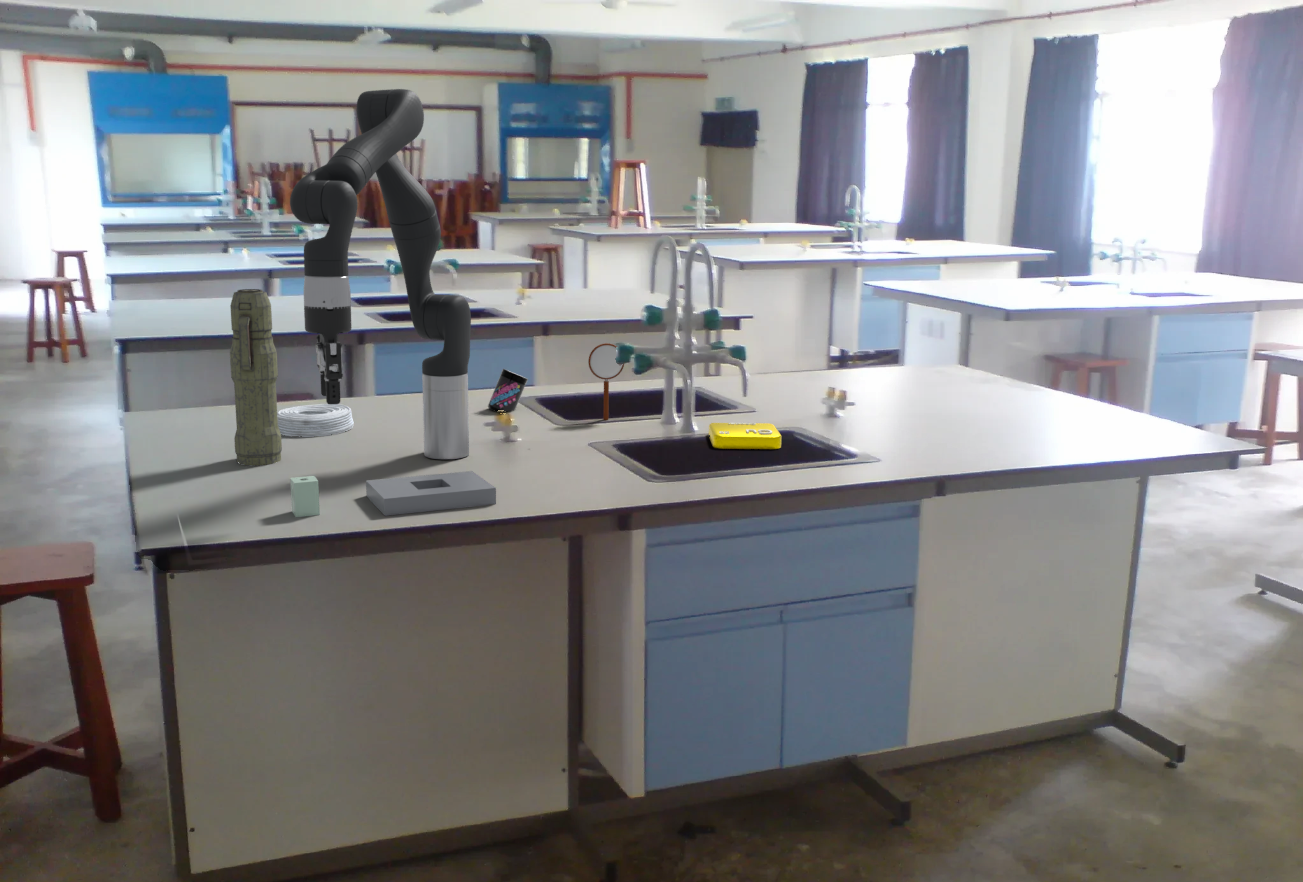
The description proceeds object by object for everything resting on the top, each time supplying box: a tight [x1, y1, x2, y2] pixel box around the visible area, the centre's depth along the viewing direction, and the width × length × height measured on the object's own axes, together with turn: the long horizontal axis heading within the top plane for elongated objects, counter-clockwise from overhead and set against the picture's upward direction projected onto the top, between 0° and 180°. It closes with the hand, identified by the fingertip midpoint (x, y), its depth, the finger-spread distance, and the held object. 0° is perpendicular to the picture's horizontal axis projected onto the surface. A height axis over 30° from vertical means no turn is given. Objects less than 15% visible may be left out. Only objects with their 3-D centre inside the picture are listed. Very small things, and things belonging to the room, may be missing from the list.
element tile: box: [708, 422, 782, 450], centre depth 261 cm, size 15×15×5 cm
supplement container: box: [487, 368, 529, 413], centre depth 289 cm, size 7×7×10 cm
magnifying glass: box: [588, 342, 625, 421], centre depth 279 cm, size 9×2×20 cm, turn 101°
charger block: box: [289, 475, 321, 518], centre depth 201 cm, size 4×4×6 cm
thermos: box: [229, 288, 283, 467], centre depth 233 cm, size 9×12×35 cm
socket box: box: [365, 470, 497, 516], centre depth 211 cm, size 14×20×3 cm
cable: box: [277, 403, 355, 438], centre depth 266 cm, size 18×18×6 cm
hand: (330, 399), depth 197 cm, fingers open, 8 cm apart
